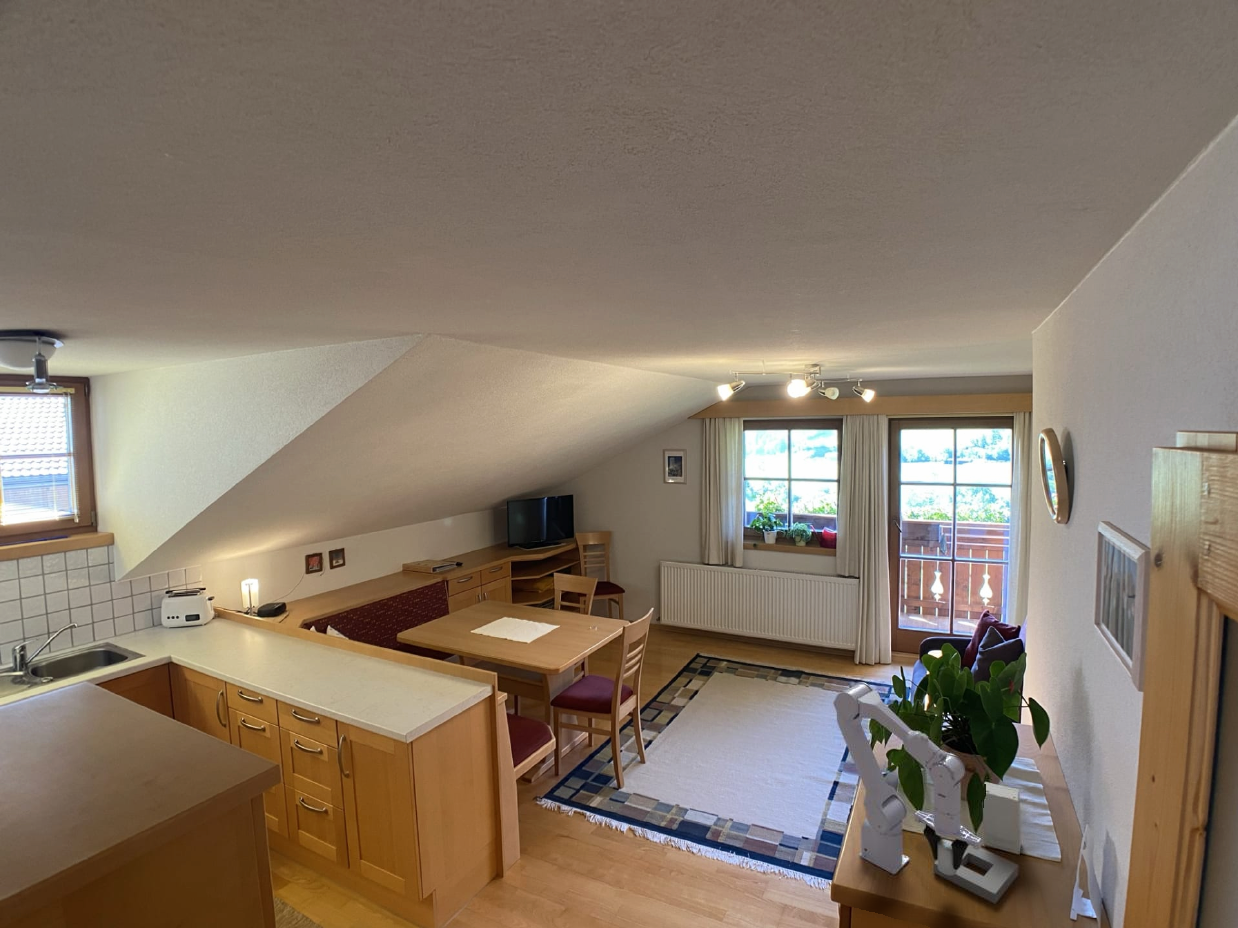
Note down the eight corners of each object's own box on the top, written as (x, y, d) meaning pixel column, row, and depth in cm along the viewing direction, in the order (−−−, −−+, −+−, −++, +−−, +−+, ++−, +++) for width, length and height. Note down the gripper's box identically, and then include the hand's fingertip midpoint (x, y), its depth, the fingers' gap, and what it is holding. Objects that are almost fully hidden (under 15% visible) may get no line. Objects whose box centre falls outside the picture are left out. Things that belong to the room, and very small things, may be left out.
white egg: (934, 868, 154) (934, 844, 154) (942, 860, 157) (942, 837, 156) (951, 877, 151) (951, 853, 151) (959, 869, 154) (959, 845, 153)
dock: (933, 872, 161) (933, 862, 161) (958, 846, 170) (958, 837, 169) (995, 903, 150) (995, 893, 150) (1018, 874, 159) (1018, 864, 159)
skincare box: (1021, 843, 170) (1021, 788, 169) (1019, 856, 165) (1019, 800, 164) (984, 832, 175) (984, 779, 174) (981, 844, 170) (981, 790, 169)
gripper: (908, 801, 156) (908, 854, 157) (972, 829, 145) (972, 887, 146) (922, 789, 160) (922, 841, 161) (985, 816, 149) (985, 872, 150)
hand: (946, 862), depth 154 cm, fingers closed on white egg, 4 cm apart
